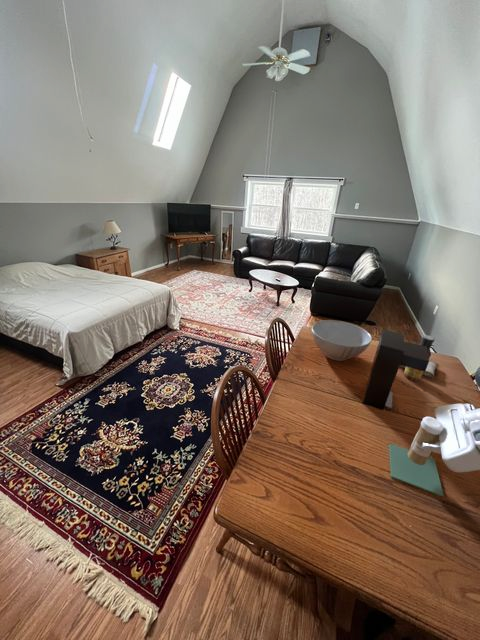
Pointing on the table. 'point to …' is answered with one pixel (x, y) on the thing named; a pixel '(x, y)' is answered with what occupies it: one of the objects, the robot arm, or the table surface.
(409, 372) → the sauce bottle
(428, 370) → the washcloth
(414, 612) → the table surface
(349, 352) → the decorative bowl
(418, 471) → the rubber mat
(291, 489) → the table surface
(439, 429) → the sprinkles bottle
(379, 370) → the black l-shaped post
